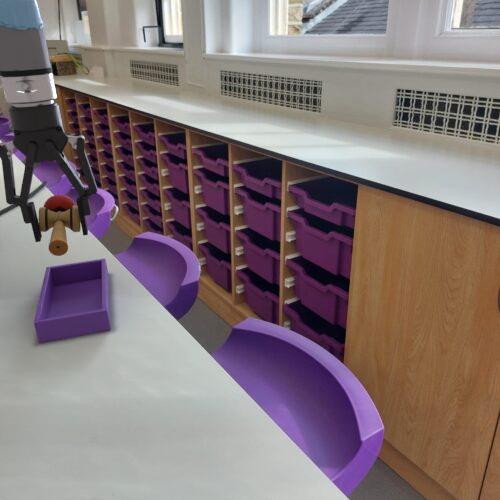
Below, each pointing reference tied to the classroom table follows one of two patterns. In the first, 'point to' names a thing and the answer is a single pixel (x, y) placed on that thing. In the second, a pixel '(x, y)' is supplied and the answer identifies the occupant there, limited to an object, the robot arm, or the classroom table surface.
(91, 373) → the classroom table surface
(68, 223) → the kendama
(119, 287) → the classroom table surface
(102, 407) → the classroom table surface
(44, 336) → the tote
